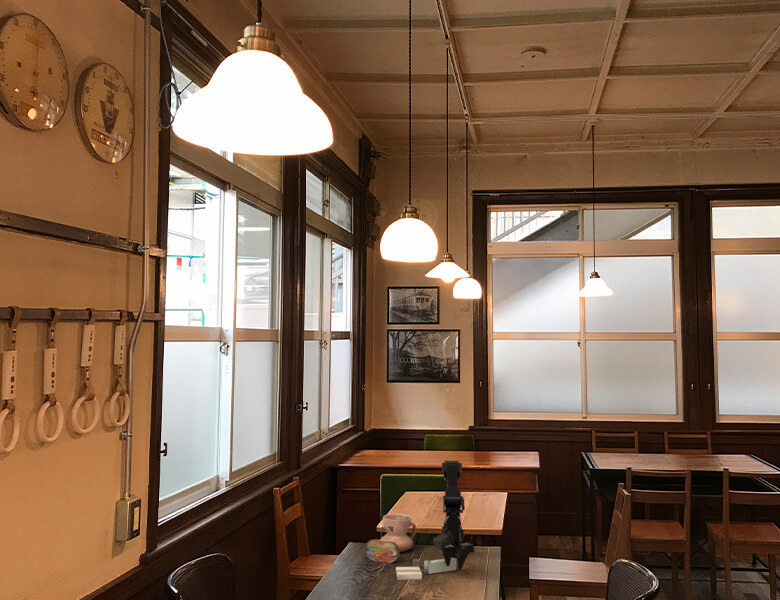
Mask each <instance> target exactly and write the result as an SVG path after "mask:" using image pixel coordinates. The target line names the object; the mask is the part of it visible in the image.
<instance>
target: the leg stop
mask: <svg viewBox="0 0 780 600" xmlns="http://www.w3.org/2000/svg"><path fill="white" fill-rule="evenodd" d="M419 564H420V562H419V559H418V558H415V559H414V558H413V559H412V567H419V568H420V565H419Z"/></svg>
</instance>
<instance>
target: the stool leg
mask: <svg viewBox="0 0 780 600" xmlns="http://www.w3.org/2000/svg"><path fill="white" fill-rule="evenodd" d="M423 563H424V564H423V568H424V570H423V573H424V574H426V575H429V574H431V575H432V574H437V573H444V572H451V571H452V572H453V571H456V570H457V558H455V557H451V561H450V565H449V566H446V562H445V559H444V558H441V559H434V560H429V559H428V560H427V559H425V560H424V561H423Z"/></svg>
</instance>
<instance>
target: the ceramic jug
mask: <svg viewBox="0 0 780 600" xmlns="http://www.w3.org/2000/svg"><path fill="white" fill-rule="evenodd" d="M382 520H383V524H378V528H379V529H384V530H385V532H386V534H385V535H384V536H382V537H381V538H380V540H385V541H392V542H394V543H396V544H397V545H398V547H399V553H403V552H407V551H408V550H410V549H412V547H413V546H414V541H413V539H414V537H415V535H416V533H417V525H416V523H415V522H413V521H412V516H410V515H408V514H404V513H388V514H385V515H383V516H382ZM410 527H412V531H411V533H410V534H411V535H410V536H409V535H408V534H407V533H408V530H409V528H410Z"/></svg>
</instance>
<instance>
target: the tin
mask: <svg viewBox="0 0 780 600" xmlns="http://www.w3.org/2000/svg"><path fill="white" fill-rule="evenodd" d="M364 552H365V556H366V557H367V559H368V560H370V561H372V560H373V561H372V562H378V561H379V562H378V563H384V562H386V564H392V563H394V562H396V561H398V558H399V557H400V552H399V547H398V545H397V544H396V543H394V542H392V541H385V540H381V539H375V538H374V539H370V540H368V541H367V542H366V544H365V548H364Z"/></svg>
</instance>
